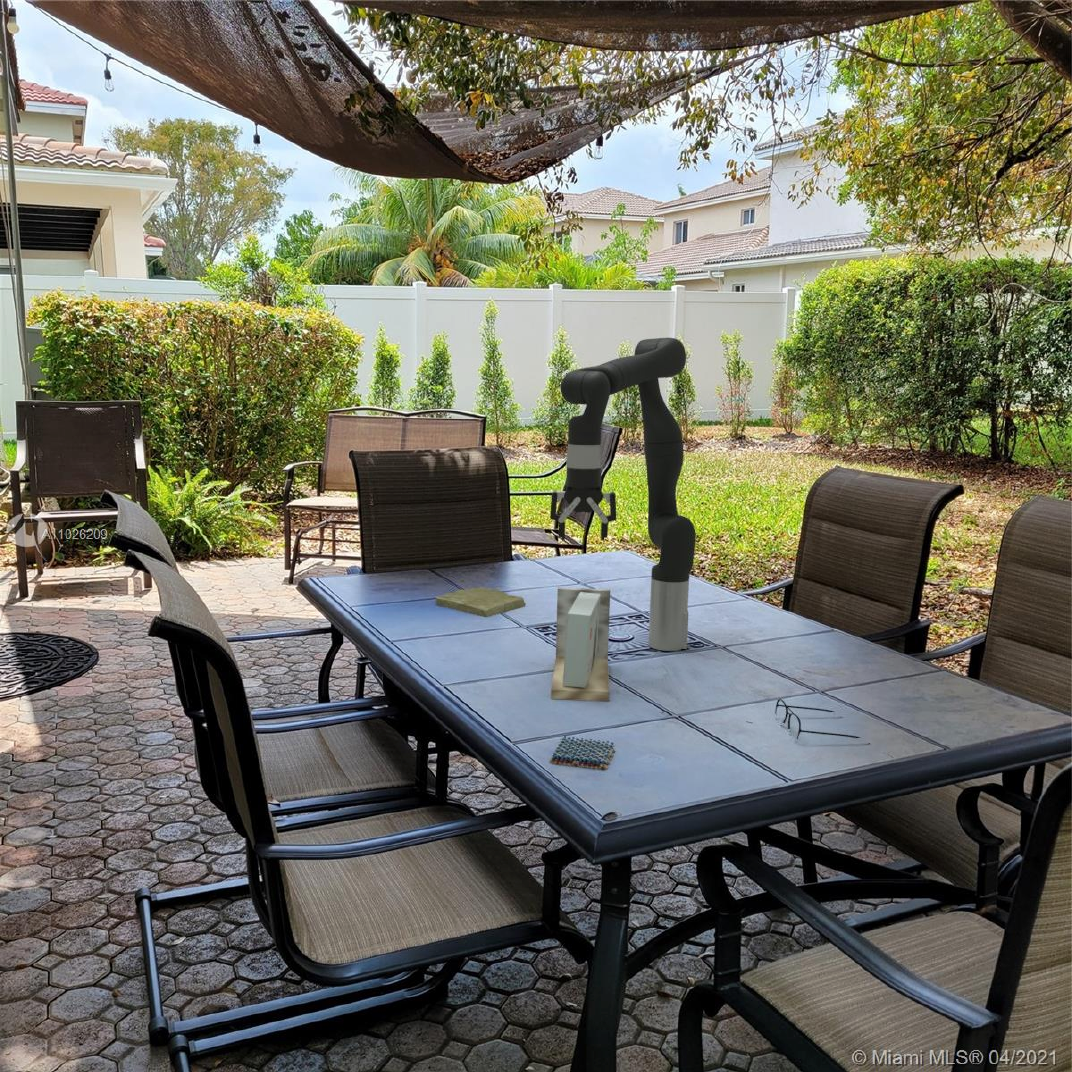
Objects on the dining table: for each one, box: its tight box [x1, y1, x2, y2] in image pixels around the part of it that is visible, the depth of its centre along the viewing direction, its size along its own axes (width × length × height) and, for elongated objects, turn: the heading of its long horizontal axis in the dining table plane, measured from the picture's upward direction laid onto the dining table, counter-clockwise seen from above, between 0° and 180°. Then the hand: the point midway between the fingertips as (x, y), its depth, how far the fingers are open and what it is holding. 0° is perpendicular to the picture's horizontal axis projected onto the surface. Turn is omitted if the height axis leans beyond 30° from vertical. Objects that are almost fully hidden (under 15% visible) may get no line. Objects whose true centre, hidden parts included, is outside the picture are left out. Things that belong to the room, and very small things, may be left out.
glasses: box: [774, 698, 860, 740], centre depth 191 cm, size 14×15×5 cm
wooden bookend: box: [550, 587, 611, 702], centre depth 216 cm, size 12×25×18 cm, turn 177°
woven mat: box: [548, 735, 616, 770], centre depth 176 cm, size 10×11×2 cm
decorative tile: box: [435, 586, 527, 618], centre depth 283 cm, size 19×20×4 cm
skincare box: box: [563, 592, 601, 688], centre depth 215 cm, size 21×5×16 cm, turn 170°
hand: (582, 539), depth 215 cm, fingers open, 8 cm apart
